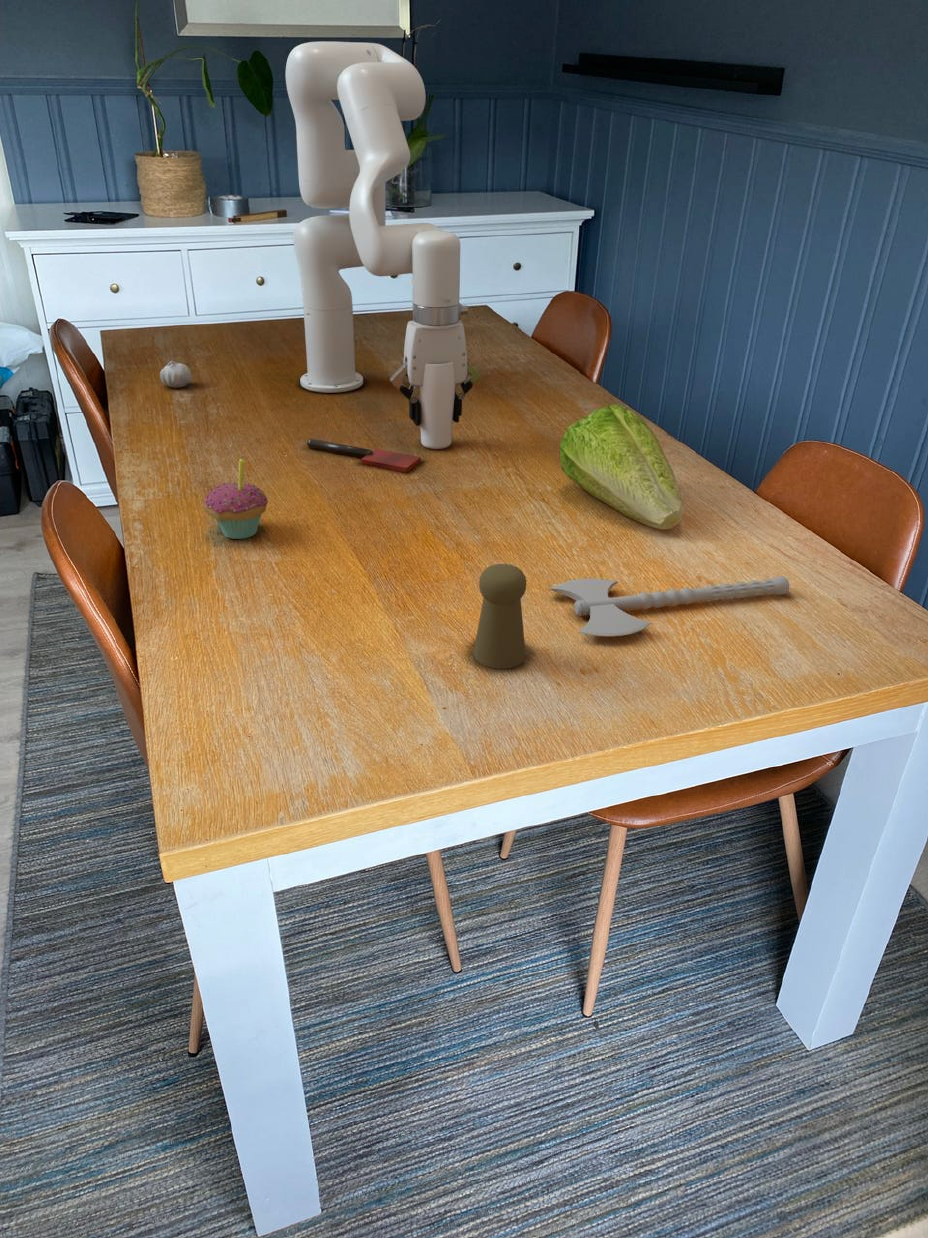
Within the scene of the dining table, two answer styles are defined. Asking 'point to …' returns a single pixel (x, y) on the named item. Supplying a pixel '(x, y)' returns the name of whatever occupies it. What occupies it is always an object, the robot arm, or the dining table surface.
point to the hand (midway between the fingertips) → (435, 420)
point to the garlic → (175, 375)
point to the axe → (648, 601)
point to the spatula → (370, 455)
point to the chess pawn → (501, 617)
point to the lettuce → (622, 466)
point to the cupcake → (236, 507)
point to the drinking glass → (437, 405)
